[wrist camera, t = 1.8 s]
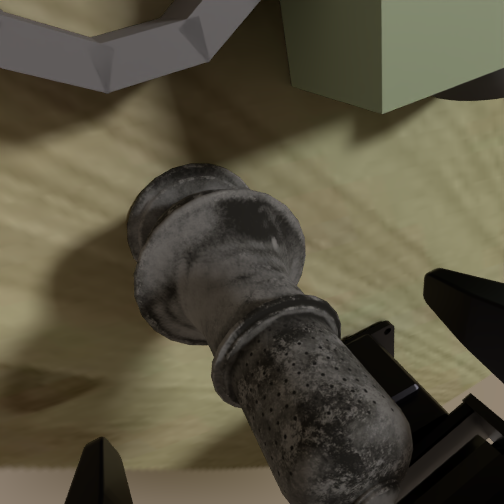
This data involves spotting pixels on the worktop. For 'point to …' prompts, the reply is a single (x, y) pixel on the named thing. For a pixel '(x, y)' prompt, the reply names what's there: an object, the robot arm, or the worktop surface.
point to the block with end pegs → (290, 48)
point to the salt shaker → (265, 335)
